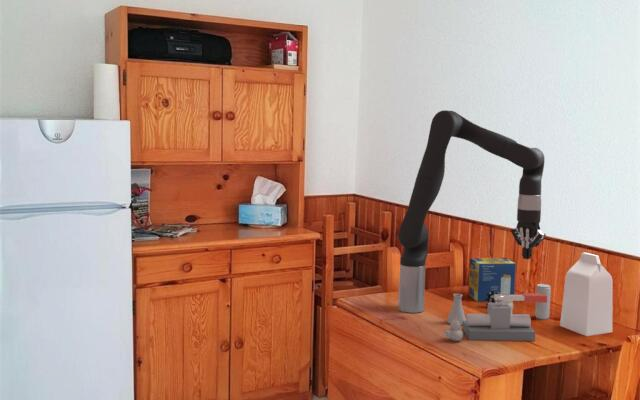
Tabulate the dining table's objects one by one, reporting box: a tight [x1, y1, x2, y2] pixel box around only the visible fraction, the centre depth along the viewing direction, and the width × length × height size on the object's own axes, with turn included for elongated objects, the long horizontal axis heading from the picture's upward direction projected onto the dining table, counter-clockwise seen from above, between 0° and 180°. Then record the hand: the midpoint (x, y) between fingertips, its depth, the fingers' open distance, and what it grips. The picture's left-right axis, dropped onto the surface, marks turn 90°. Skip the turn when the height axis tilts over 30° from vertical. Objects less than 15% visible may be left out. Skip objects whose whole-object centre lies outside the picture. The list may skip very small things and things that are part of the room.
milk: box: [559, 252, 614, 337], centre depth 221 cm, size 12×12×26 cm
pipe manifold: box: [462, 301, 536, 342], centre depth 215 cm, size 21×11×11 cm, turn 89°
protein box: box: [468, 257, 517, 303], centre depth 260 cm, size 10×15×16 cm
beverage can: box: [534, 283, 552, 321], centre depth 234 cm, size 5×5×12 cm
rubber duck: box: [444, 316, 464, 342], centre depth 209 cm, size 5×7×8 cm
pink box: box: [494, 292, 547, 304], centre depth 214 cm, size 16×3×2 cm, turn 89°
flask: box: [446, 293, 467, 326], centre depth 228 cm, size 7×7×10 cm
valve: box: [484, 291, 514, 314], centre depth 242 cm, size 7×7×12 cm
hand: (526, 258), depth 220 cm, fingers closed
